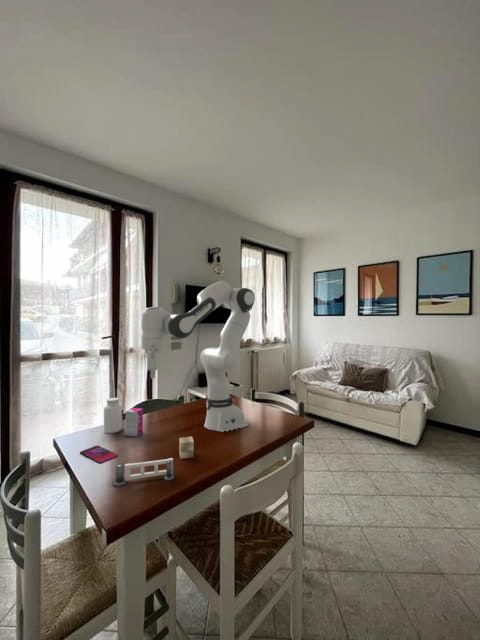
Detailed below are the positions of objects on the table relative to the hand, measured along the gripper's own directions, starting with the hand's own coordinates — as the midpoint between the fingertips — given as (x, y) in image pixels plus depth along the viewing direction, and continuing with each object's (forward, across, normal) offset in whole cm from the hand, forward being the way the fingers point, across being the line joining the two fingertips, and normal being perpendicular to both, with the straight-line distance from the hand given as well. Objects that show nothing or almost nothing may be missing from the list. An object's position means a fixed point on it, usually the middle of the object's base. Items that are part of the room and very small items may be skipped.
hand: (152, 377), depth 119 cm
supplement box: (+29, +14, +8) cm, 33 cm away
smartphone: (+29, -3, +20) cm, 36 cm away
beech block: (+29, -13, -12) cm, 34 cm away
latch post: (+29, -28, -5) cm, 40 cm away
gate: (+28, -26, +1) cm, 38 cm away
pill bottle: (+29, +22, +18) cm, 41 cm away
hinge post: (+28, -26, +10) cm, 40 cm away
